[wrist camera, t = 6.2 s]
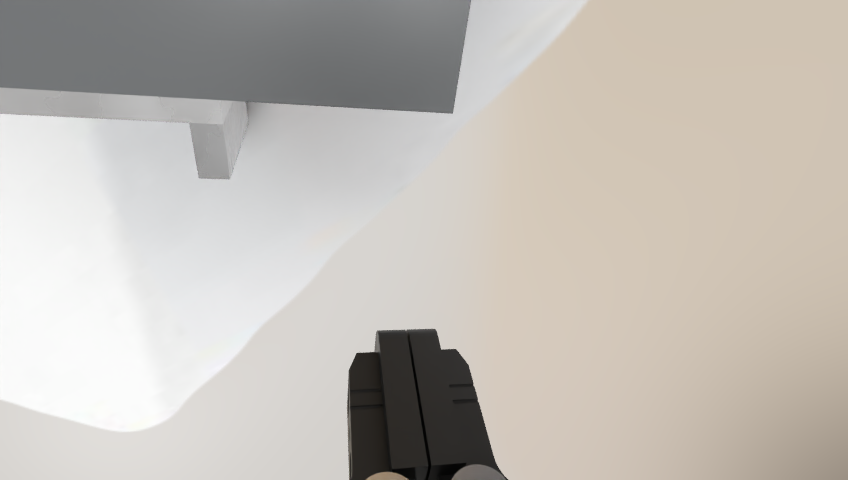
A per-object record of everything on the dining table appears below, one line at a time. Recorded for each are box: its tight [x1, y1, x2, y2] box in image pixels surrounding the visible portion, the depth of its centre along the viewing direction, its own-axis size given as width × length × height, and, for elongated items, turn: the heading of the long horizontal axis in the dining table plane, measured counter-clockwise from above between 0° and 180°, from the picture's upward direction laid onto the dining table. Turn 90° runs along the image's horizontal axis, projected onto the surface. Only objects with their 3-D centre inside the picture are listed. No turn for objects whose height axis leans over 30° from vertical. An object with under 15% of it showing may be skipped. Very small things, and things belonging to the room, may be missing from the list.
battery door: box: [0, 87, 248, 179], centre depth 26 cm, size 4×10×7 cm, turn 83°
